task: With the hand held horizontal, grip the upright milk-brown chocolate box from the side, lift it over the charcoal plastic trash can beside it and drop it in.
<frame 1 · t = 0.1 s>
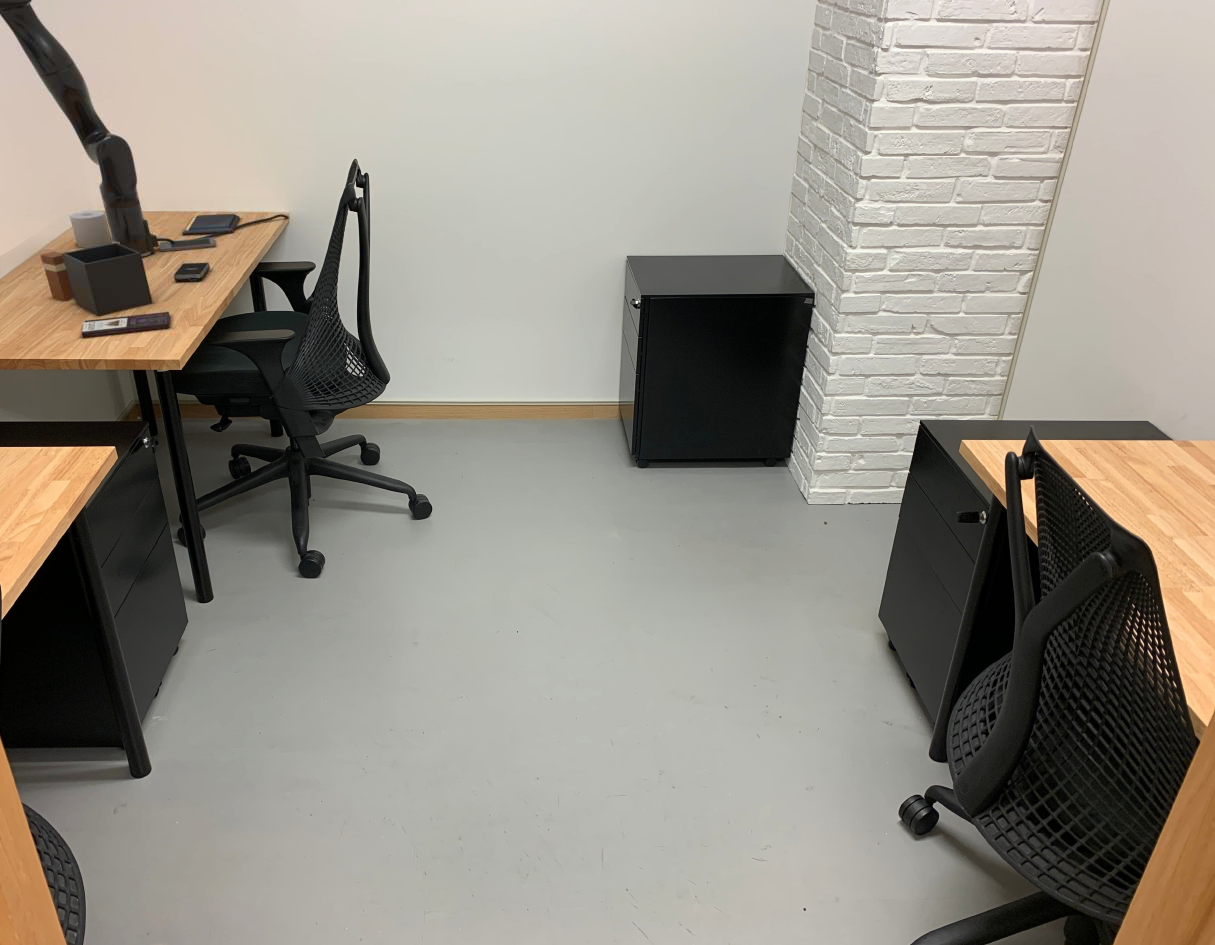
chocolate bar: (127, 327, 215), on the table
external hard drive: (193, 276, 249), on the table
smartphone: (188, 246, 274), on the table
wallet: (212, 227, 294), on the table
trash can: (114, 303, 229), on the table
toilet tissue: (96, 243, 276), on the table
chocolate box: (65, 297, 232), on the table
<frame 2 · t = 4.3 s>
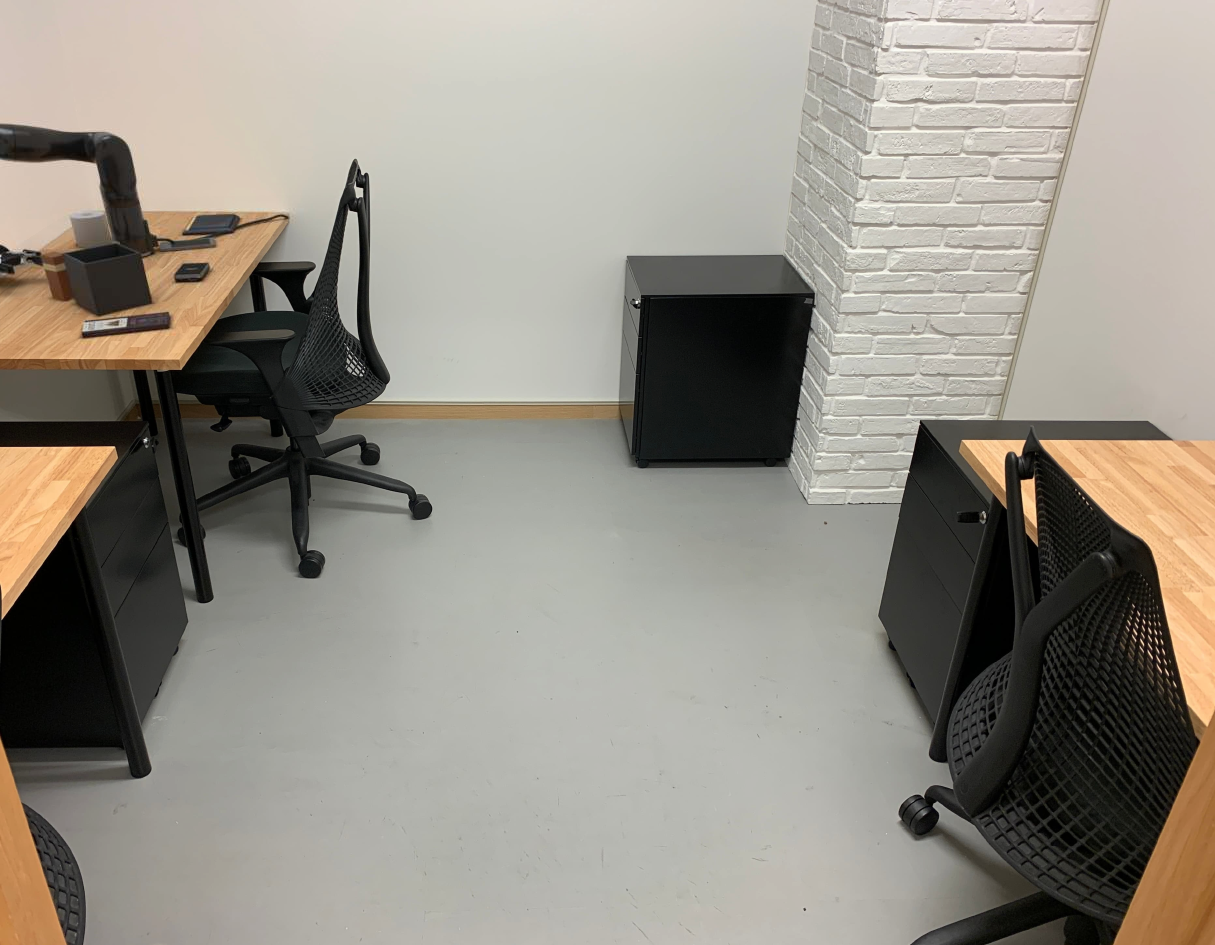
hand: (28, 266, 233), 7 cm above the table, tool horizontal, fingers open, 8 cm apart
nothing on the table moved.
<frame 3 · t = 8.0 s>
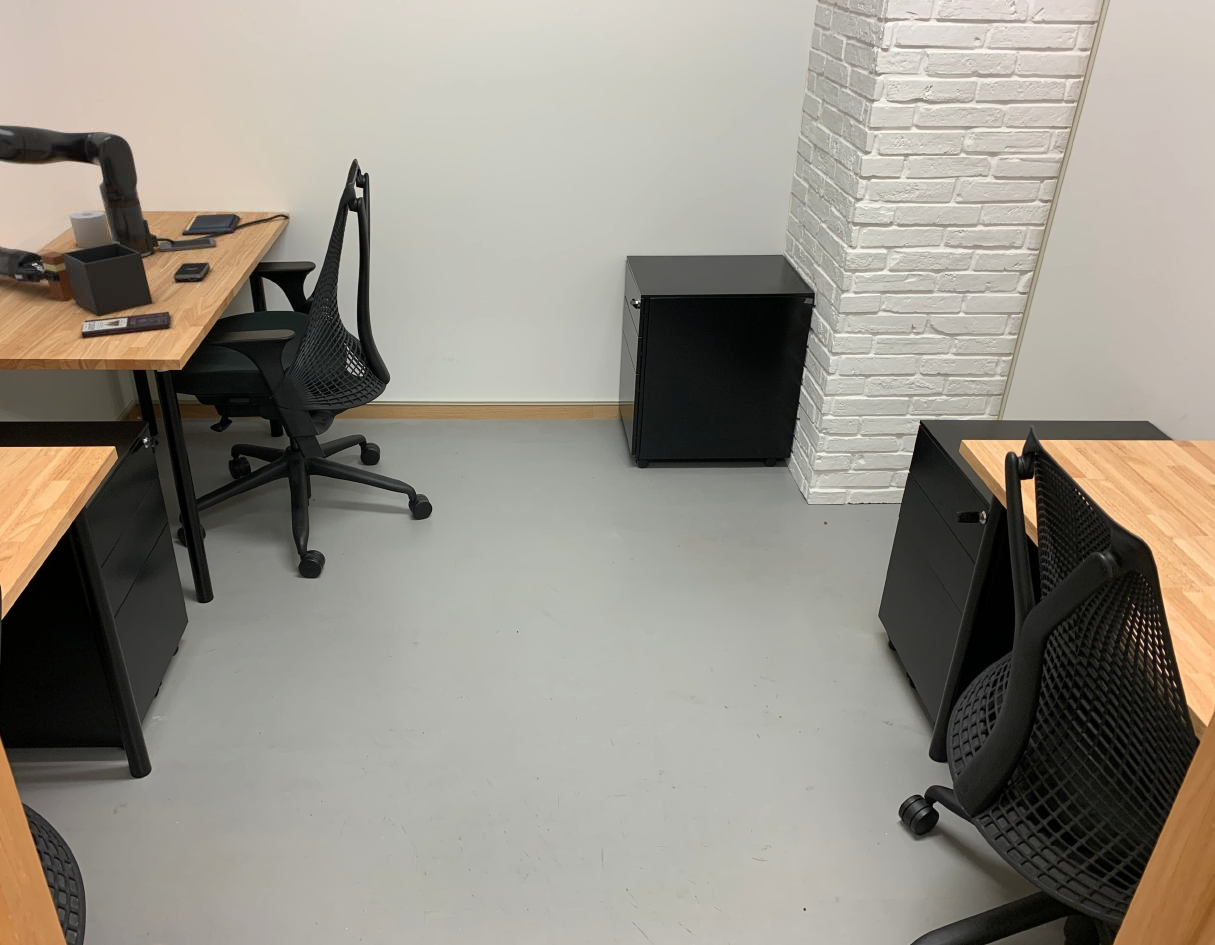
hand: (65, 275, 228), 6 cm above the table, tool horizontal, fingers closed on chocolate box, 3 cm apart
chocolate box: (65, 297, 232), on the table, touching gripper
everything else where it was.
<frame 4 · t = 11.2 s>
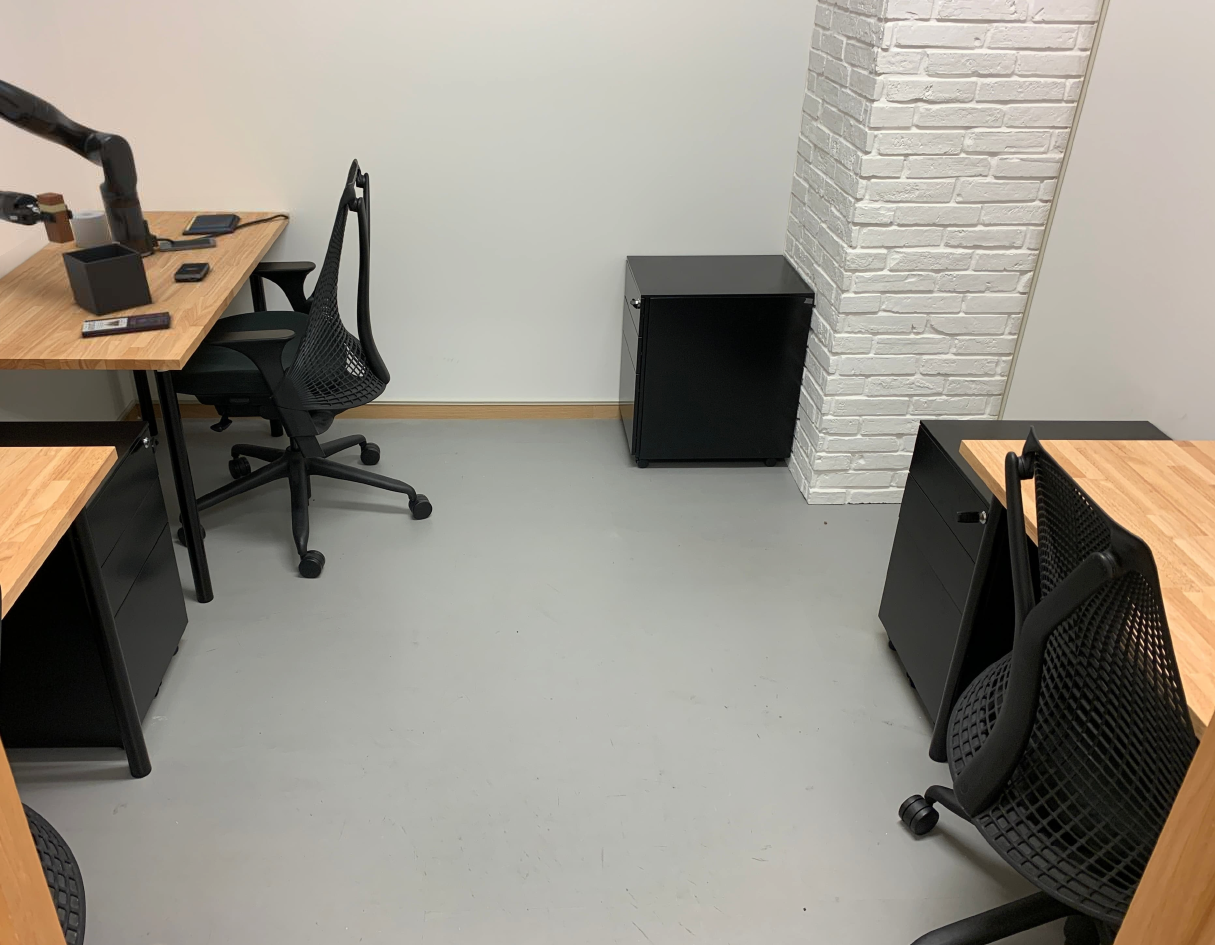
hand: (62, 216, 220), 21 cm above the table, tool horizontal, fingers closed on chocolate box, 3 cm apart
chocolate box: (61, 240, 224), point 15 cm above the table, touching gripper
everything else where it was.
when the fingers open (17 cm above the table, at t = 14.6 s): chocolate box drops 10 cm, resting on trash can.
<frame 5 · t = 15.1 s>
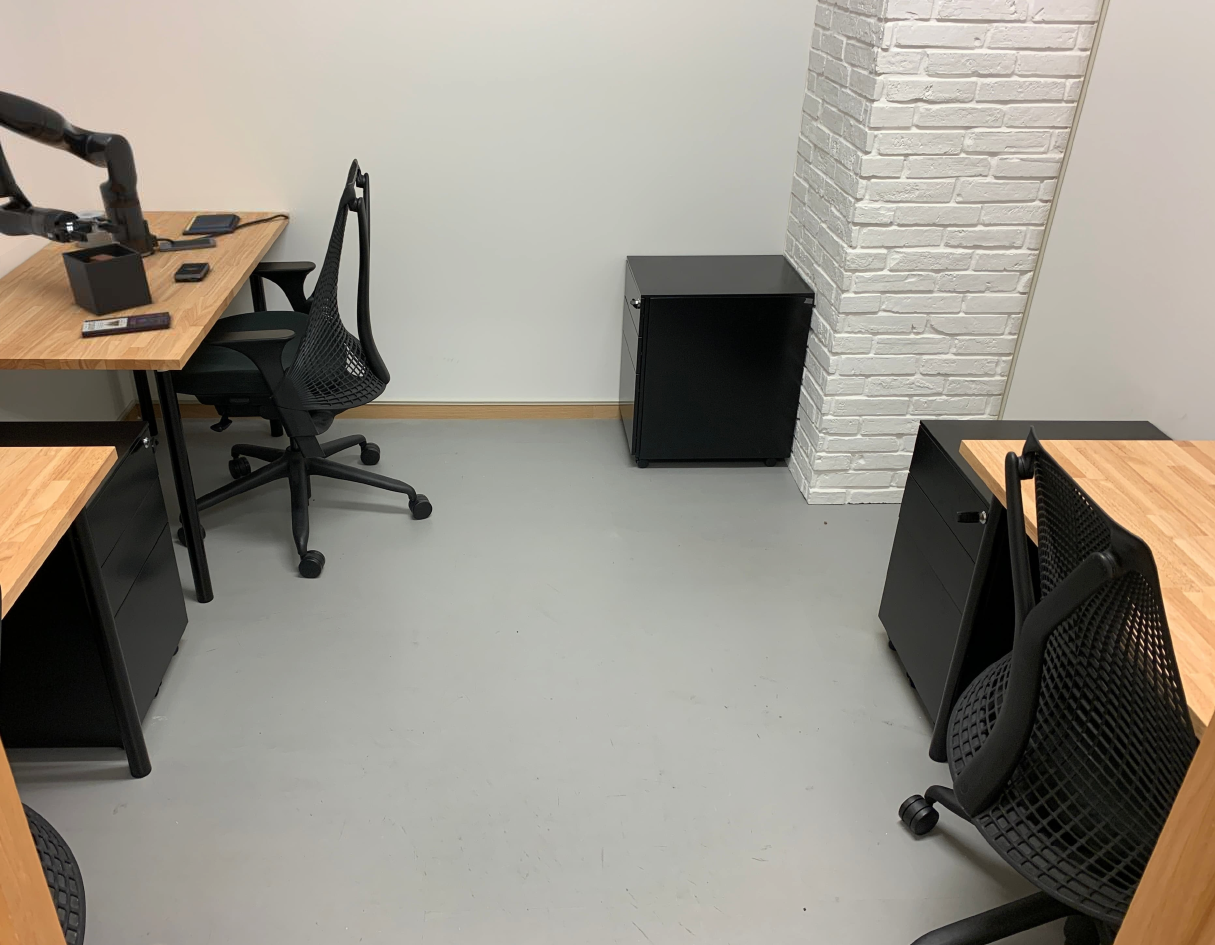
hand: (101, 233, 220), 18 cm above the table, tool horizontal, fingers open, 8 cm apart
chocolate box: (113, 300, 229), point 1 cm above the table, touching trash can
everything else where it was.
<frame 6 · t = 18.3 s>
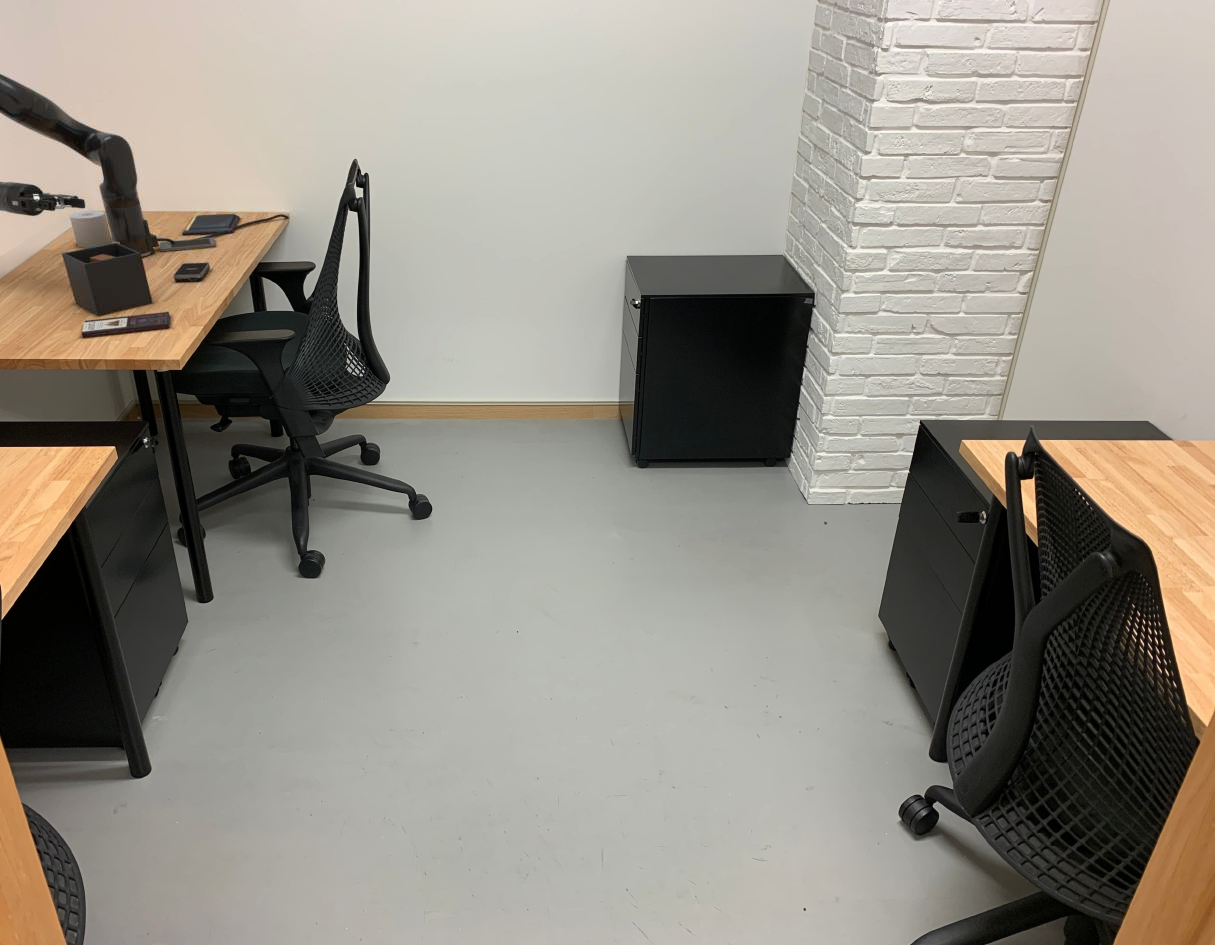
hand: (68, 205, 224), 22 cm above the table, tool horizontal, fingers open, 8 cm apart
nothing on the table moved.
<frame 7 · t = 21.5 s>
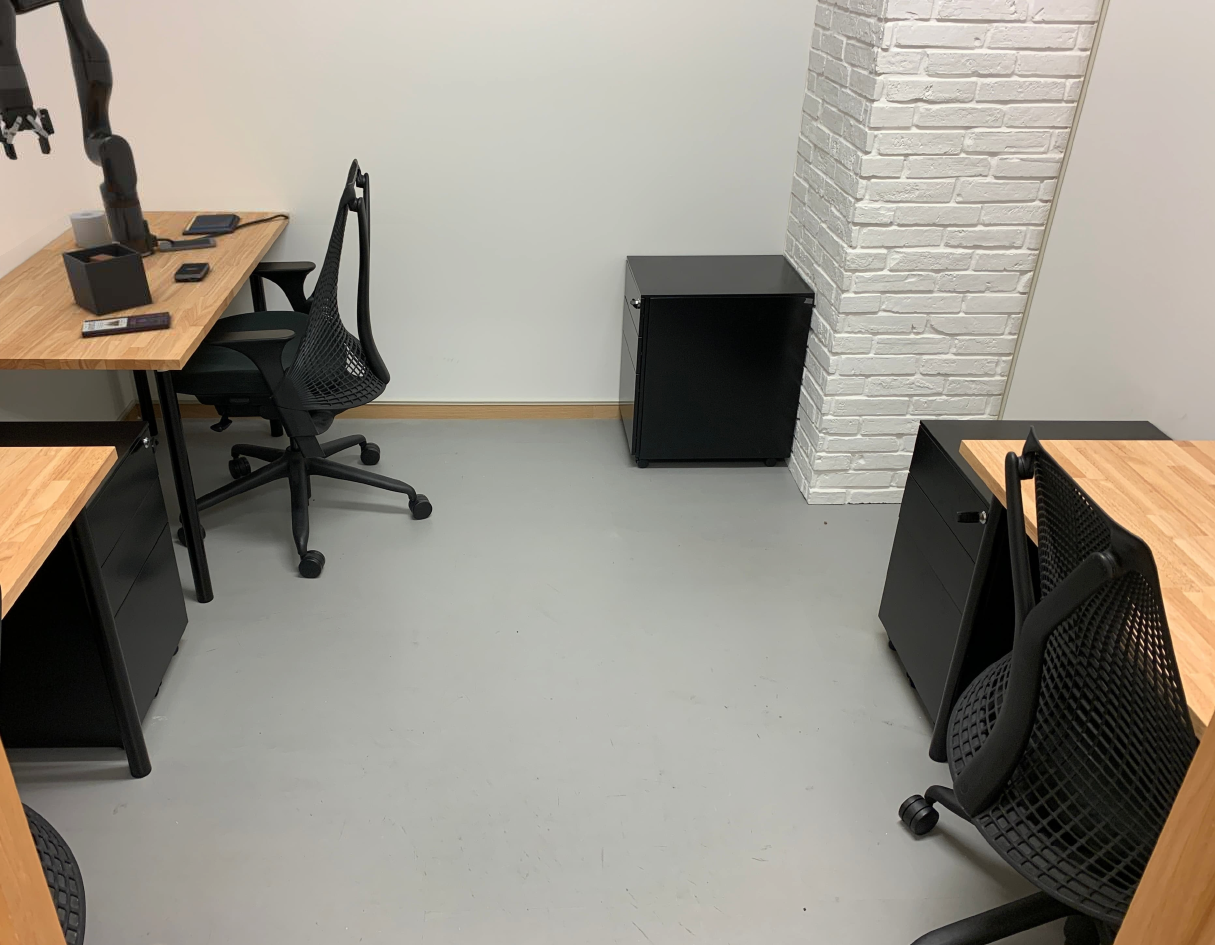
hand: (30, 156, 226), 32 cm above the table, tool pointing down, fingers open, 8 cm apart
nothing on the table moved.
at the end: chocolate box inside the target area in the trash can (0.1 cm from its centre), point 0.6 cm above the trash can's base; the gripper is holding nothing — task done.
